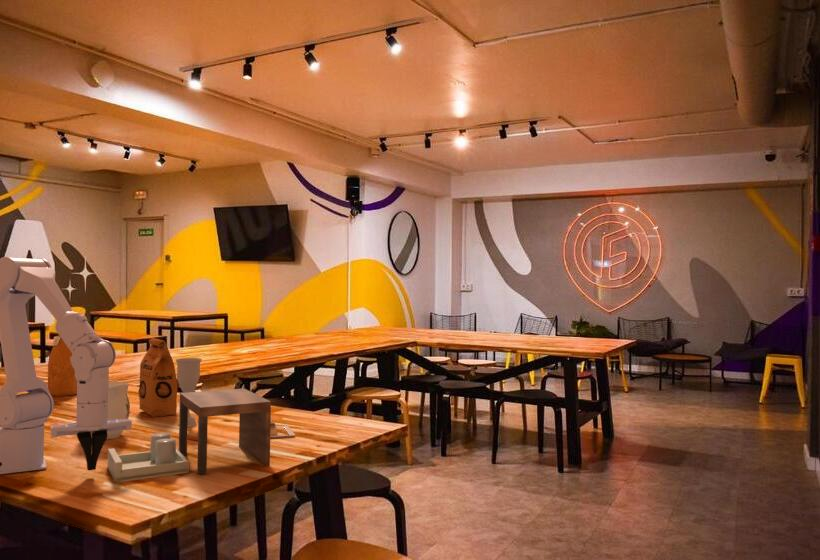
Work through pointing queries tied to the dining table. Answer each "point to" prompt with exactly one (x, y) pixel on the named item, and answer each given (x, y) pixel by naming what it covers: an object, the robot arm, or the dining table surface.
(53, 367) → the wine bottle
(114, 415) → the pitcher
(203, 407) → the miniature side table
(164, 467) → the tray
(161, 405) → the coffee package
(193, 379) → the chalice
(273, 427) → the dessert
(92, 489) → the dining table surface
